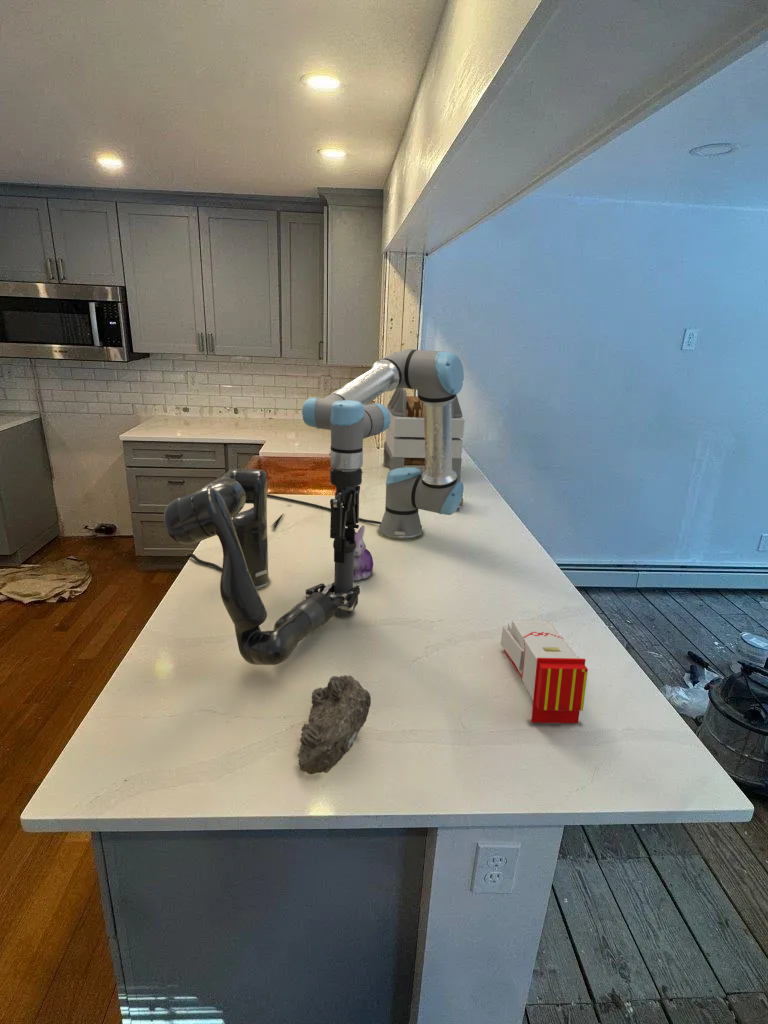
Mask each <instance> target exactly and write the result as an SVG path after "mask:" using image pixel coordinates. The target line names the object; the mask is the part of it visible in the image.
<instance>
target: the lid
mask: <svg viewBox="0 0 768 1024" xmlns="http://www.w3.org/2000/svg"><path fill="white" fill-rule="evenodd" d="M344 538H346V552H349V551H353V550H354V549H355V548H356V541H355V540H354V539H352V538H347V537H344ZM332 548H334V541H333V543H332Z"/></svg>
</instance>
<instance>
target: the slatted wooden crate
mask: <svg viewBox="0 0 768 1024" xmlns="http://www.w3.org/2000/svg"><path fill="white" fill-rule="evenodd" d="M407 394H408V393H407V390H406V389H405V388H395V389H394V392H393V394H392V395H391V398H390V400H389V402H388V404H387V405H386V408H387V409H388V411H389V413H390V419H391V420H390V424H389V427H388V428H387V429H386V430H385V438H384V442H383V466H384V467H388V468H389V472H390V471H391V470H393V469H397V468H405V466H406V467H409V466H411V467H417V466H418V467H426V462H425V436H424V411H423V403H422V402H421V401H420V400H419V399H418V395H417V396H415V395H414V396H413V395H412V396H411V395H407ZM451 410H452V470H453V471H455V472H456V474H457V482H458V481H460V482H461V472H462V461H463V460H462V453H463V442H464V441H463V440H462V439H463V438H464V431H465V430H464V429H465V419H464V418H463V411H462V408H461V405H460V402H459V398H458V394H456V398H455V399H454V400H453V401H452V402H451Z"/></svg>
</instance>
